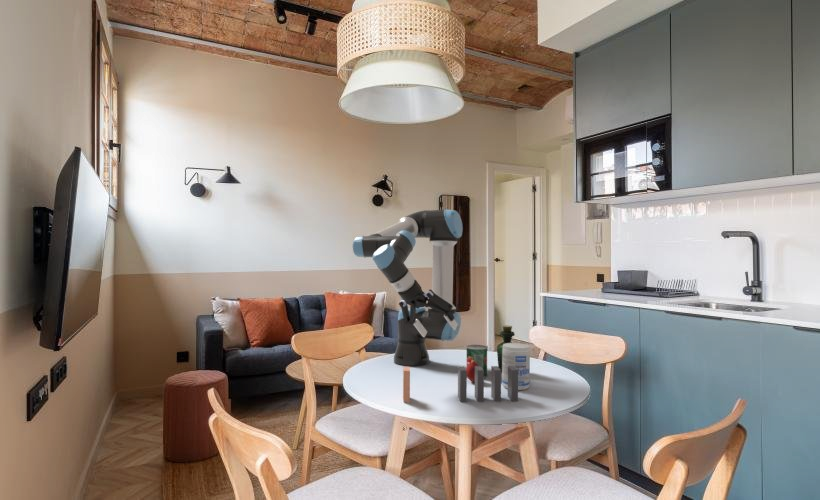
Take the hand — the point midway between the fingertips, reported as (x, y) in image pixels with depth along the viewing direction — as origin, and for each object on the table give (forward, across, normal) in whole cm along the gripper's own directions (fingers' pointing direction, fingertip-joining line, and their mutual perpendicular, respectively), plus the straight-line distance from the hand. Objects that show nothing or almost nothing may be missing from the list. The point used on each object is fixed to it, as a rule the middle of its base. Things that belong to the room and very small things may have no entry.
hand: (440, 331), depth 163 cm
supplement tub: (+30, +13, -1) cm, 33 cm away
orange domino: (+4, -6, -26) cm, 27 cm away
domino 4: (+24, +18, -12) cm, 33 cm away
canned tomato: (+28, -4, +6) cm, 29 cm away
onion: (+24, 0, -2) cm, 24 cm away
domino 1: (+15, +6, -18) cm, 24 cm away
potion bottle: (+37, +2, +14) cm, 40 cm away
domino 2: (+18, +10, -16) cm, 26 cm away
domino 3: (+21, +14, -14) cm, 29 cm away
